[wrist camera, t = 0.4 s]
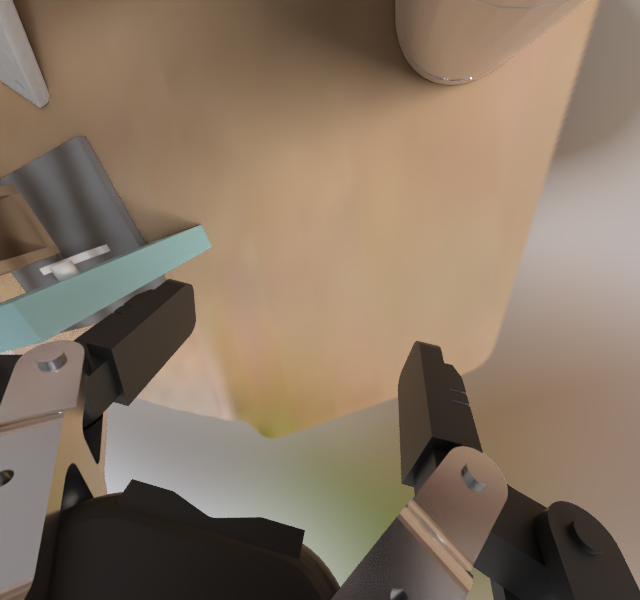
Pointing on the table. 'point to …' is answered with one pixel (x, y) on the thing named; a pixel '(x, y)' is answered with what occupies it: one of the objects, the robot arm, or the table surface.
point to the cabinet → (64, 220)
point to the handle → (19, 58)
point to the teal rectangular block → (91, 288)
